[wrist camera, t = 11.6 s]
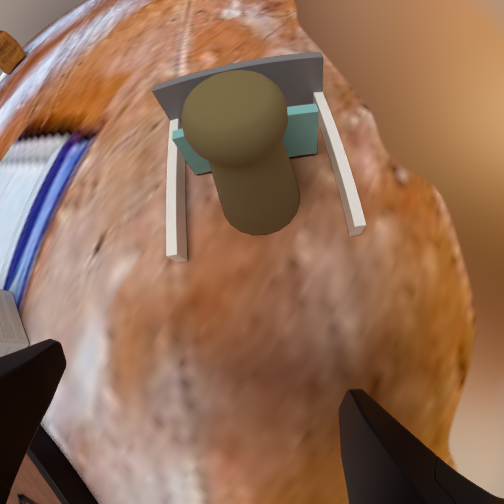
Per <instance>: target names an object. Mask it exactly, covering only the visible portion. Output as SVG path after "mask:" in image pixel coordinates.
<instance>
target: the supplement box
mask: <svg viewBox="0 0 504 504" xmlns="http://www.w3.org/2000/svg"><path fill="white" fill-rule="evenodd" d="M28 345H29V342H28V339H27V336H26V333H25V331H24V328H23V325H22V322H21V319H20V316H19V313H18V310H17V306H16V303H15V299H14V296H13V294H12V292H9V291H5V290H1V289H0V357H2V356H5V355H7V354H10V353H13V352H16V351H18V350H21V349H24V348H26V347H27V346H28Z"/></svg>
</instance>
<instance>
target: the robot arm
mask: <svg viewBox="0 0 504 504" xmlns="http://www.w3.org/2000/svg"><path fill="white" fill-rule="evenodd" d="M65 368H66V359H65V355H64V352H63V349H62V345H61V343H60V342H58V341H56V340H53V339H48V340H45V341H42V342H40V343H37V344H34V345H32V346H29V347H26V348H24V349H21V350H18V351H16V352H13V353H10V354H7V355H5V356H2V357H0V504H6V503H7V500H8V498H9V495H10V492H11V489H12V486H13V484H14V481H15V479H16V476H17V474H18V471H19V469H20V466H21V464H22V462H23V459H24V457H25V455H26V452H27V450H28V448H29V446H30V444H31V442H32V439H33V437H34V435H35V433H36V431H37V429H38V427H39V425H40V423H41V421H42V419H43V417H44V415H45V413H46V411H47V409H48V407H49V405H50V403H51V401H52V399H53V397H54V394H55V392H56V389H57V387H58V384H59V382H60V380H61V377H62V375H63V373H64V370H65ZM339 426H340V442H341V456H342V462H343V468H344V474H345V480H346V486H347V492H348V498H349V504H504V499H503V498H499V497H496V496H494V495H492V494H490V493H489V492H487V491H485V490H484V489H482V488H481V487H479V486H477V485H476V484H474V483H473V482H471V481H470V480H468V479H467V478H465V477H464V476H462V475H461V474H459V473H458V472H456V471H455V470H454V469H453V468H451V467H450V466H449V465H448V464H446V463H445V462H444V461H443V460H442V459H440V458H439V457H438V456H436V454H434V453H433V452H432V451H431V450H430V449H429V448H428V447H426V446H425V445H424V444H423V443H422V442H421V441H419V440H418V439H417V438H416V437H415V436H414V435H413V434H411V433H410V432H409V431H408V430H407V429H406V428H405V427H404V426H402V425H401V424H400V423H399V422H398V421H397V420H396V419H395V418H393V417H392V416H391V415H390V414H389V413H388V412H387V411H386V410H384V409H383V408H382V407H381V406H380V405H379V404H378V403H377V402H376V401H375V400H373V399H372V398H371V397H370V396H369V395H368V394H367V393H366V392H365V391H364V390H362V389H349V390H348V391H347V392H346V394H345V396H344V399H343V401H342V403H341V405H340V407H339Z"/></svg>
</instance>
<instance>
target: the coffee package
mask: <svg viewBox="0 0 504 504" xmlns="http://www.w3.org/2000/svg"><path fill="white" fill-rule="evenodd" d="M25 55H26V54H25V52H24V51H23V49H22V47H21V46H20V45H19V43H18V42H17V41H16V40H15V39H14V38H12V36H11V35H9V34H8V33H7V32H5V31H0V68H1V70H2V71H3V72H4V73H6V74H10V73H11V72H12V71H13V70H14V68H15V67H16V66H17V65H18V64H19V62H20V61H21V60H22V59H23V57H24V56H25Z"/></svg>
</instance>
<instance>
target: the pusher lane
mask: <svg viewBox="0 0 504 504" xmlns="http://www.w3.org/2000/svg"><path fill="white" fill-rule="evenodd" d="M234 70H247V71H254V72H257V73H260V74H263V75H264V76H266V77H267V78H268V79H270V80H271V81H273V82H274V83H275V84H276V85H277V86H278V87H279V89H280V90H281V92H282V94H283V96H284V98H285V100H286V102H287V107H291V106H299V105H307V104H316V106H317V108H318V111H319V116H318V123H319V126H320V129H321V132H322V135H323V138H324V141H325V145H326V148H327V151H328V154H329V158H330V161H331V165H332V168H333V172H334V175H335V179H336V182H337V186H338V190H339V193H340V197H341V201H342V205H343V209H344V213H345V217H346V222H347V226H348V230H349V235H350V236H356V235H360V234H361V233H362V231H363V229H364V228H365V226H366V223H365V219H364V215H363V211H362V207H361V204H360V200H359V196H358V193H357V189H356V186H355V183H354V179H353V176H352V173H351V170H350V166H349V163H348V160H347V157H346V154H345V151H344V148H343V145H342V142H341V139H340V137H339V134H338V131H337V128H336V125H335V123H334V120H333V117H332V115H331V112H330V110H329V107H328V105H327V102H326V100H325V97H324V95H323V92H322V86H323V56H322V54H321V52H311V53H299V54H290V55H281V56H274V57H267V58H260V59H254V60H249V61H243V62H238V63H233V64H228V65H224V66H219V67H215V68H211V69H207V70H203V71H199V72H195V73H192V74H188V75H185V76H181V77H178V78H175V79H171V80H168V81H165V82H162V83H159V84H156V85H153V90H152V92H153V93H154V95H155V97H156V98H157V100H158V102H159V103H160V105H161V107H162V108H163V110H164V111H165V113H166V115H167V116H168V118H169V120H170V129H169V144H168V162H167V191H166V252H167V257H169V258H171V259H172V260H174V261H176V262H177V263H180V262H187V261H188V260H187V238H186V201H185V158H184V157H183V155H182V154H181V152H180V151H179V149H178V148H177V146H176V145H175V143H174V142H173V140H172V133H173V131H175V130H178V129H182V123H181V114H182V110H183V106H184V102H185V100H186V98H187V97H188V95H189V94H190V92H191V91H192V90H193V89H194V88H195V87H196V86H197V85H198V84H200V83H201V82H203V81H204V80H206V79H208V78H210V77H211V76H214V75H217V74H220V73H223V72H227V71H234Z"/></svg>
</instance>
